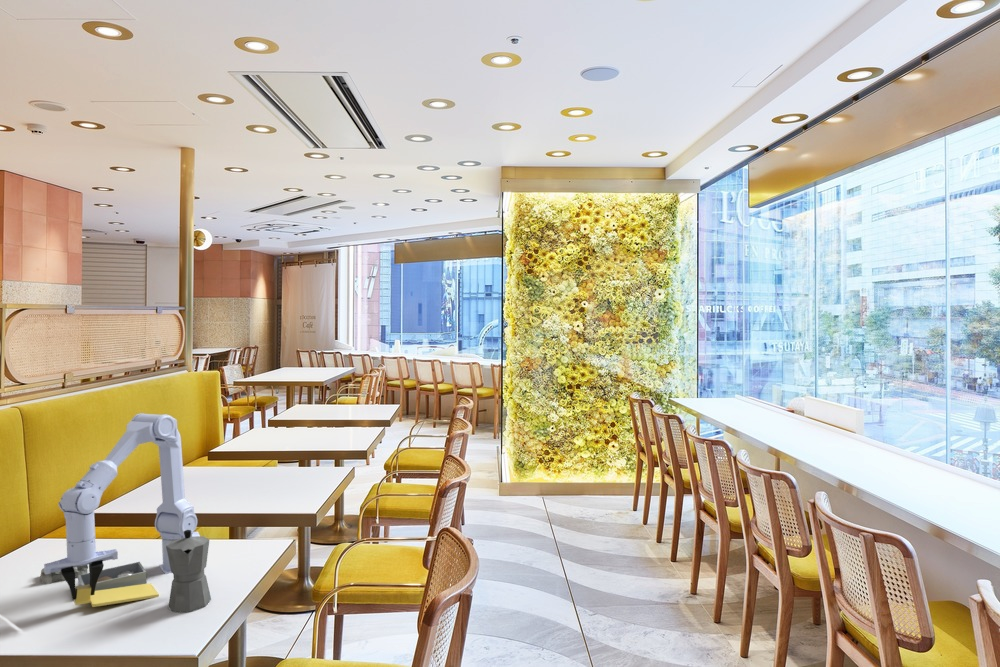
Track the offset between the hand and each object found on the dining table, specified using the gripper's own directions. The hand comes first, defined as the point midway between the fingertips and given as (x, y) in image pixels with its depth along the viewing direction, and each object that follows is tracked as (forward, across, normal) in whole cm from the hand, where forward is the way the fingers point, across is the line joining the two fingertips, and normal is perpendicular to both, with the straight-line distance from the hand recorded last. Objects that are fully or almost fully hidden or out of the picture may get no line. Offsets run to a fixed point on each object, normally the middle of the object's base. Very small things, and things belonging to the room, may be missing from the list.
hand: (83, 595), depth 156 cm
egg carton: (+4, +1, -27) cm, 27 cm away
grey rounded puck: (+3, -11, -11) cm, 16 cm away
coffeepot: (+4, -20, +12) cm, 24 cm away
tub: (+3, -8, -11) cm, 14 cm away
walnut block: (+3, -5, -10) cm, 12 cm away
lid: (+3, -7, 0) cm, 7 cm away
